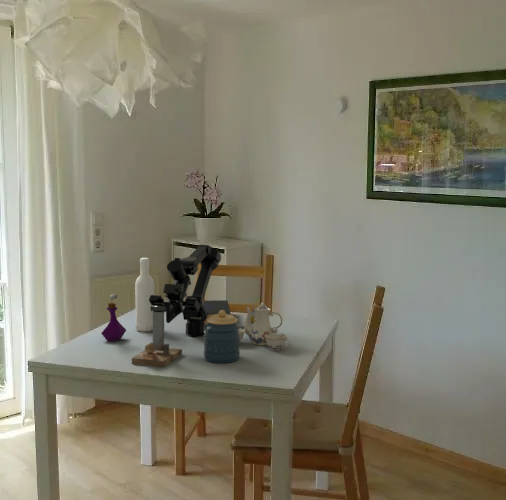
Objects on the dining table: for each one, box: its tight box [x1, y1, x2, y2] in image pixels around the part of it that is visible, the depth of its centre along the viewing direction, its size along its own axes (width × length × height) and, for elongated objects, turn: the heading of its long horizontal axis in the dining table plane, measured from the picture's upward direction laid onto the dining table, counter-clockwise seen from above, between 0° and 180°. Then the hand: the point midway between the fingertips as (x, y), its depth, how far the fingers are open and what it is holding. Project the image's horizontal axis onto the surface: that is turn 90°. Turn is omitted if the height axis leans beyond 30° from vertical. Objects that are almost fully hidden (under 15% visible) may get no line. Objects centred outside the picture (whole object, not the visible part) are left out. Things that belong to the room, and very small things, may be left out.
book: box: [203, 300, 231, 325], centre depth 292 cm, size 17×25×7 cm
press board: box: [131, 341, 183, 368], centre depth 235 cm, size 16×12×7 cm
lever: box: [151, 305, 166, 351], centre depth 235 cm, size 2×5×16 cm, turn 73°
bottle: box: [134, 257, 155, 333], centre depth 273 cm, size 8×8×30 cm
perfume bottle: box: [100, 293, 127, 342], centre depth 258 cm, size 8×8×18 cm
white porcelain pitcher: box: [240, 305, 257, 330], centre depth 276 cm, size 8×8×10 cm
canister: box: [203, 310, 241, 364], centre depth 236 cm, size 13×13×18 cm
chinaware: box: [239, 301, 291, 352], centre depth 255 cm, size 28×17×17 cm, turn 69°
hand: (167, 322), depth 242 cm, fingers closed
